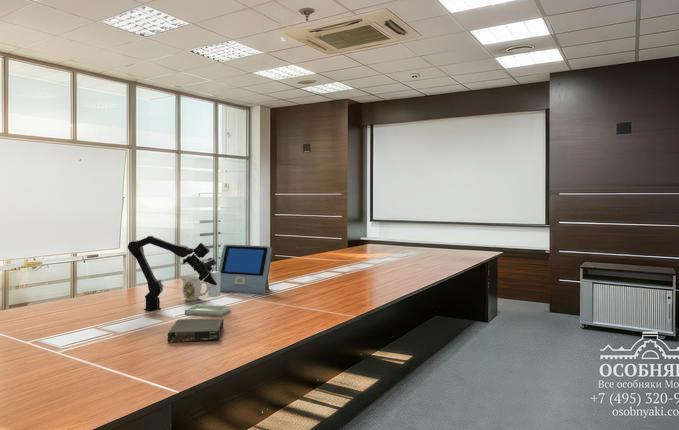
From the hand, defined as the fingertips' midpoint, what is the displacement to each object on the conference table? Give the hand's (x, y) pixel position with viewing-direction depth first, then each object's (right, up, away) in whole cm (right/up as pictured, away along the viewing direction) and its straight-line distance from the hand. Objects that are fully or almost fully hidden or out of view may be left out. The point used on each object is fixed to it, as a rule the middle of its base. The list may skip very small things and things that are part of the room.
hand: (216, 283), depth 254 cm
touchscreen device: (+6, -12, +49) cm, 50 cm away
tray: (-2, -14, -11) cm, 18 cm away
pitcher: (-19, -13, +20) cm, 31 cm away
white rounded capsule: (-1, -7, 0) cm, 7 cm away
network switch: (+4, -16, -50) cm, 52 cm away
